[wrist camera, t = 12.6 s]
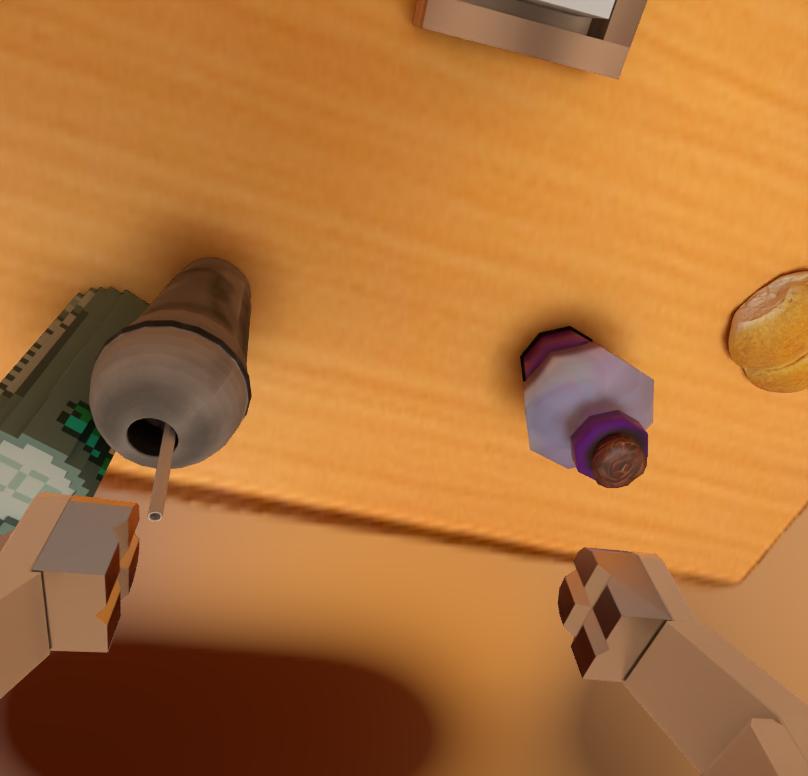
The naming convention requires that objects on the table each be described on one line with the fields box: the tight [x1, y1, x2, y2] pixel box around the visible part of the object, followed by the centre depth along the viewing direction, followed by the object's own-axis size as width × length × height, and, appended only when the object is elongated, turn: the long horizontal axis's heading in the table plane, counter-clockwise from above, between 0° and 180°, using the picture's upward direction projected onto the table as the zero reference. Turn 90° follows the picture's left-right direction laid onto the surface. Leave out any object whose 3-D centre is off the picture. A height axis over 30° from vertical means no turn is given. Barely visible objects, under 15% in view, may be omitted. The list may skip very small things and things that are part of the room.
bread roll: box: [728, 271, 808, 393], centre depth 43 cm, size 8×9×4 cm
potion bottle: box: [520, 326, 654, 488], centre depth 39 cm, size 9×9×12 cm
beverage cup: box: [89, 258, 251, 522], centre depth 31 cm, size 7×7×20 cm
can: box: [0, 286, 150, 535], centre depth 34 cm, size 6×6×15 cm
